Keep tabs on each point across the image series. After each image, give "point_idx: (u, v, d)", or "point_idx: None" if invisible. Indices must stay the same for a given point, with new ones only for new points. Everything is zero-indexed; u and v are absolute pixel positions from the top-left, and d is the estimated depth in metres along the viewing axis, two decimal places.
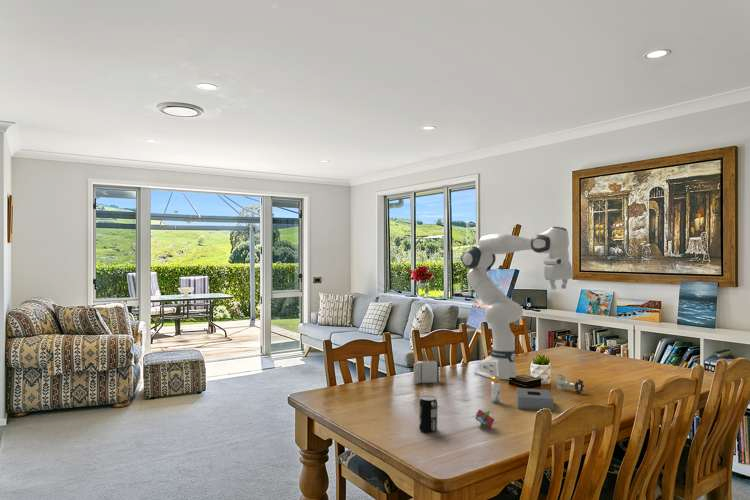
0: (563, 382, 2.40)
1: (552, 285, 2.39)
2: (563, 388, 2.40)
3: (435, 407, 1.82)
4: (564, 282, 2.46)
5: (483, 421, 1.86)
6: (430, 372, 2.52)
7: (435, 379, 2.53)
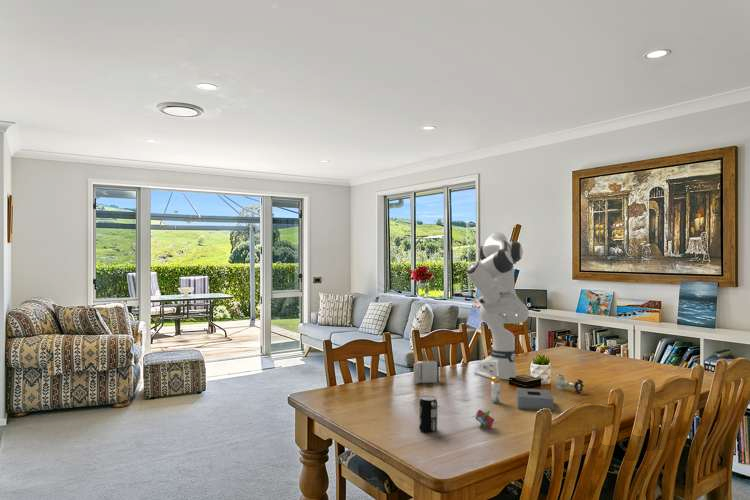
0: (563, 382, 2.40)
1: None
2: (563, 388, 2.41)
3: (435, 407, 1.82)
4: None
5: (483, 421, 1.86)
6: (430, 372, 2.52)
7: (435, 379, 2.53)
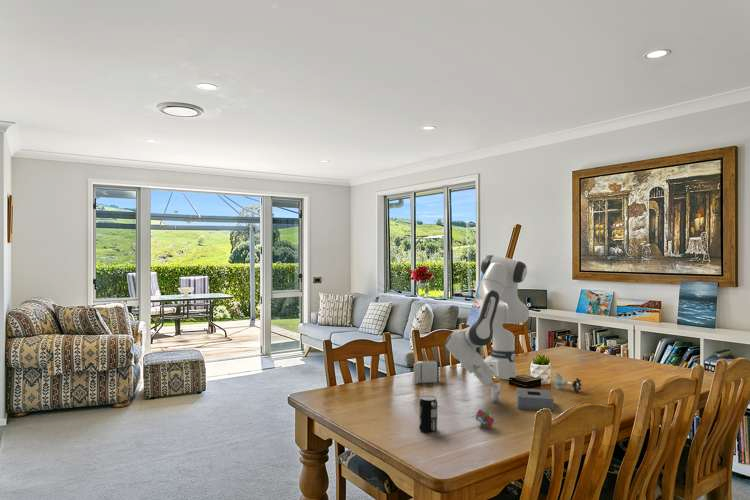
0: (561, 381, 2.41)
1: None
2: (560, 387, 2.42)
3: (435, 407, 1.82)
4: None
5: (483, 421, 1.86)
6: (430, 372, 2.52)
7: (435, 379, 2.53)
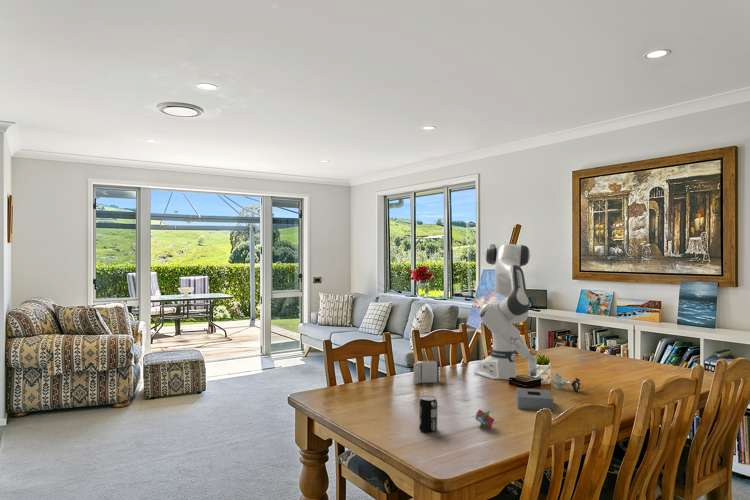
0: (560, 381, 2.42)
1: None
2: (560, 387, 2.43)
3: (435, 407, 1.82)
4: None
5: (483, 421, 1.86)
6: (430, 372, 2.52)
7: (435, 379, 2.53)
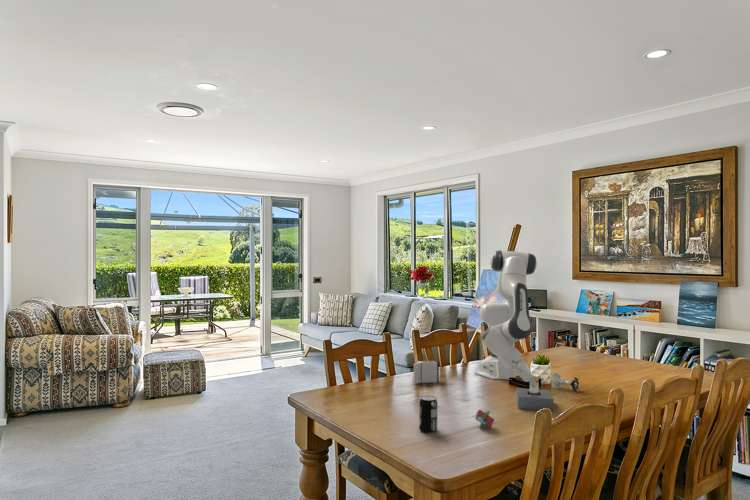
0: (559, 380, 2.43)
1: None
2: (558, 386, 2.43)
3: (435, 407, 1.82)
4: None
5: (483, 421, 1.86)
6: (430, 372, 2.52)
7: (435, 379, 2.53)
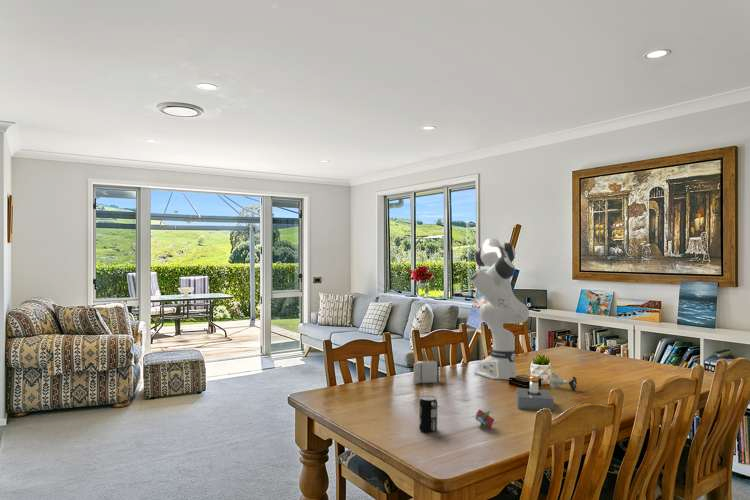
0: (557, 380, 2.44)
1: None
2: (557, 386, 2.44)
3: (435, 407, 1.82)
4: None
5: (483, 421, 1.86)
6: (430, 372, 2.52)
7: (435, 379, 2.53)
